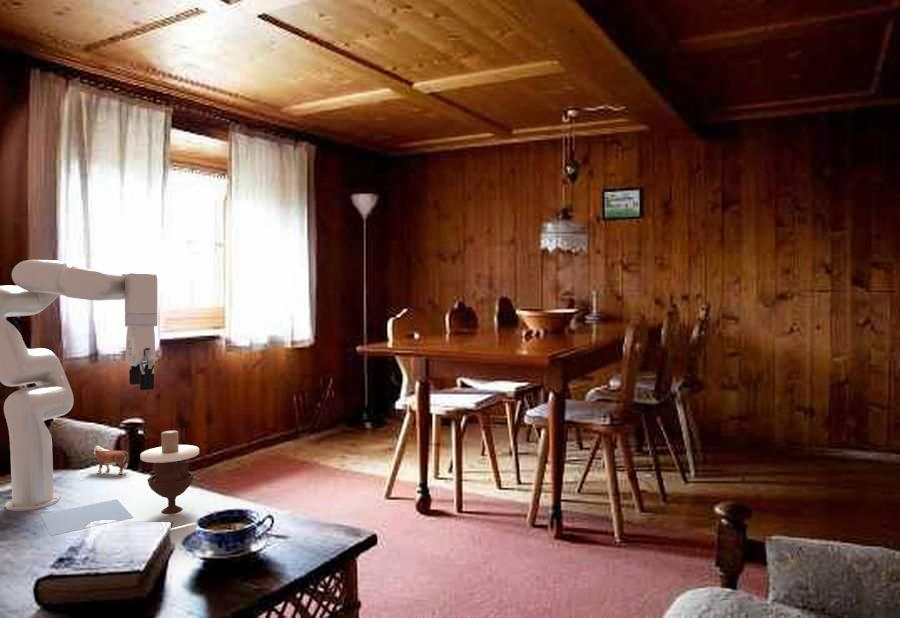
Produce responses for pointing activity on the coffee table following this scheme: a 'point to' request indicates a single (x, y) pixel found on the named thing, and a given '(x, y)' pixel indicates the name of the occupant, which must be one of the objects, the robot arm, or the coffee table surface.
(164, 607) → the coffee table surface
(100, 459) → the bull figurine
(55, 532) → the mat
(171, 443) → the lid
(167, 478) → the ice cream bowl
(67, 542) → the coffee table surface
